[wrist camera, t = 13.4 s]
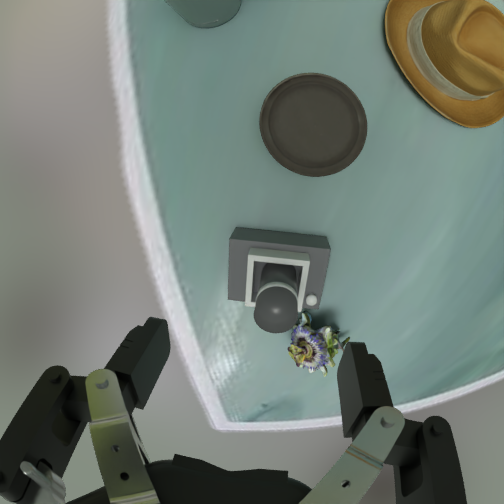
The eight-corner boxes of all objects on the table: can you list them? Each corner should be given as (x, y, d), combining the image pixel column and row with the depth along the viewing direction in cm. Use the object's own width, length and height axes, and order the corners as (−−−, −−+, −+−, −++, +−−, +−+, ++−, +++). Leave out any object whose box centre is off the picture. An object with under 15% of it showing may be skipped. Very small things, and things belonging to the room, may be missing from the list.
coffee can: (354, 124, 36) (387, 121, 23) (311, 176, 40) (322, 198, 27) (297, 79, 34) (302, 52, 21) (253, 133, 38) (237, 132, 25)
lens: (254, 276, 41) (244, 318, 32) (275, 251, 39) (272, 289, 30) (281, 296, 42) (278, 340, 33) (304, 272, 40) (307, 313, 31)
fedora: (349, -7, 27) (366, -43, 16) (472, -12, 19) (503, -30, 8) (421, 144, 35) (462, 151, 25) (526, 113, 28) (566, 118, 17)
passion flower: (297, 309, 55) (285, 310, 44) (352, 311, 52) (355, 312, 41) (293, 365, 53) (280, 379, 42) (347, 368, 50) (348, 384, 39)
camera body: (235, 227, 44) (226, 245, 37) (326, 236, 43) (333, 257, 36) (233, 283, 48) (224, 308, 41) (316, 292, 47) (319, 318, 40)
